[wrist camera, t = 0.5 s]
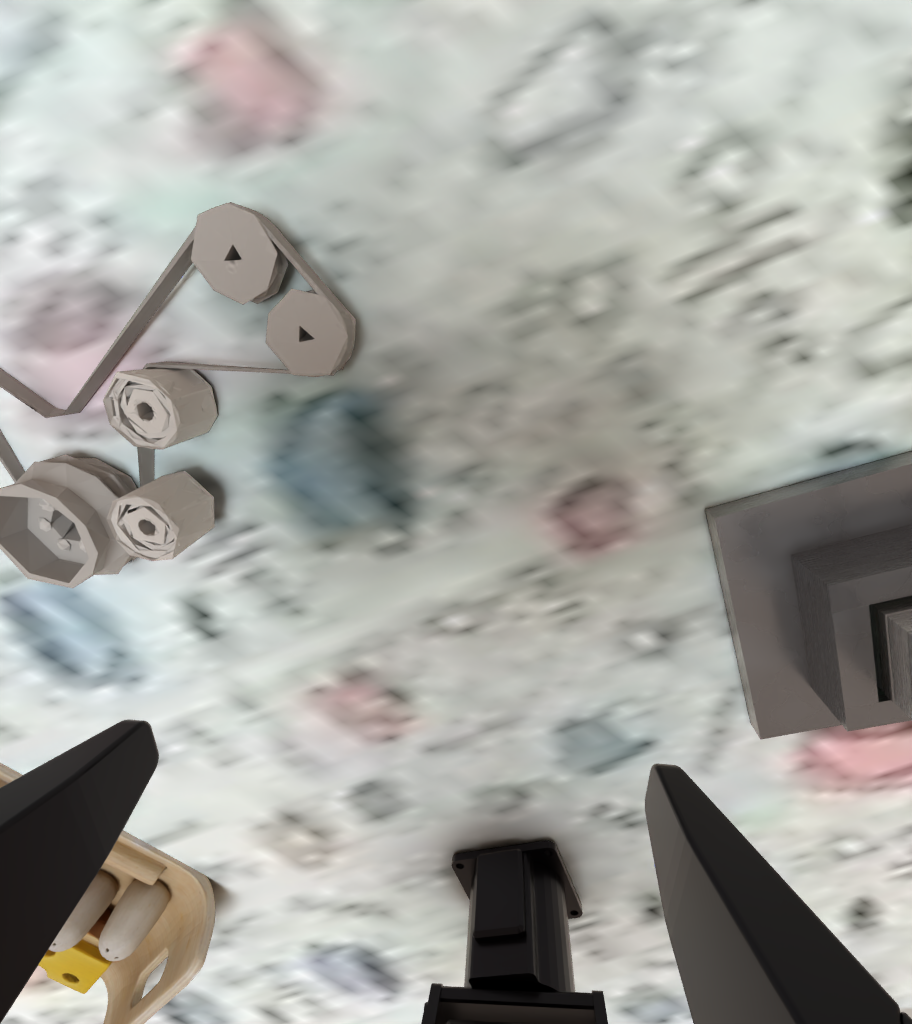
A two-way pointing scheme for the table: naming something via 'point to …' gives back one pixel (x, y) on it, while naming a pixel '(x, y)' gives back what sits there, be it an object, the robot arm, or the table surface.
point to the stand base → (815, 593)
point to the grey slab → (893, 649)
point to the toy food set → (133, 928)
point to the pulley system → (161, 414)
